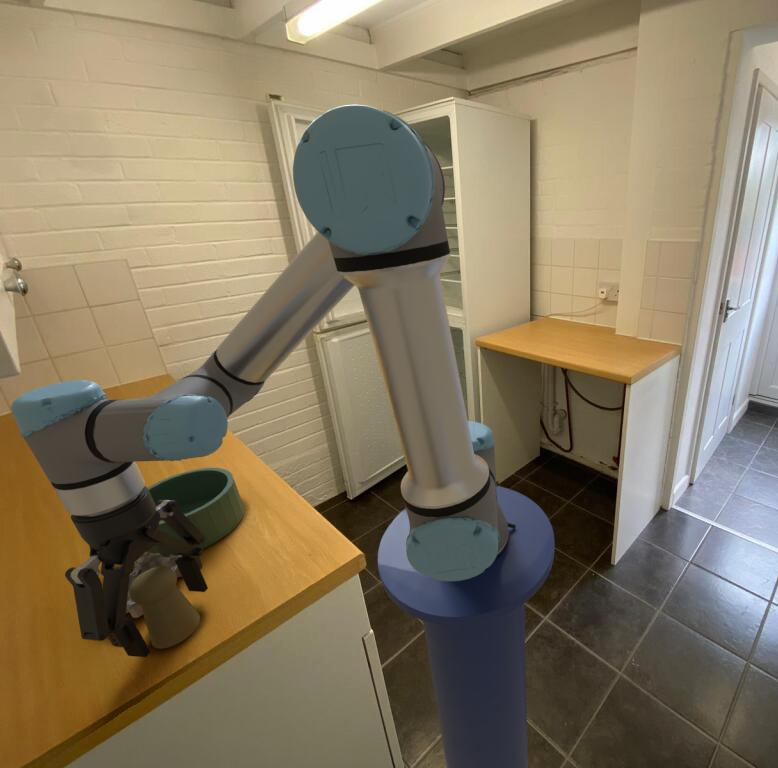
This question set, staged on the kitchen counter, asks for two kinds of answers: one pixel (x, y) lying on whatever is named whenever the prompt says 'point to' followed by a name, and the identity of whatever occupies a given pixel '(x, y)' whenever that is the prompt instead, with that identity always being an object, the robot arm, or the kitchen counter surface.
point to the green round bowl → (201, 503)
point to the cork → (164, 607)
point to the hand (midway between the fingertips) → (171, 619)
